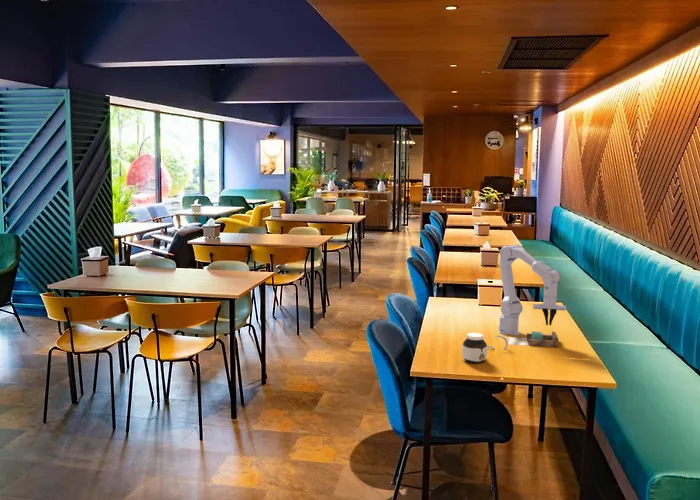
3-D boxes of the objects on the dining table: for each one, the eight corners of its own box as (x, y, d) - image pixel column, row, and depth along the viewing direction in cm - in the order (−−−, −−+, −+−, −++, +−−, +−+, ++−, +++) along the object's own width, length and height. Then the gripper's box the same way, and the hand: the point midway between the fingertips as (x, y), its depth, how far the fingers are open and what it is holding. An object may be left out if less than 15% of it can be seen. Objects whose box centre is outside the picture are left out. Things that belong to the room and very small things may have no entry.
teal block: (532, 343, 291) (532, 334, 291) (531, 340, 296) (532, 331, 295) (542, 343, 291) (542, 334, 290) (541, 341, 295) (541, 332, 294)
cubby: (508, 345, 290) (509, 335, 289) (507, 338, 302) (507, 328, 301) (557, 348, 286) (558, 338, 285) (554, 341, 297) (555, 331, 297)
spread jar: (469, 365, 262) (470, 338, 260) (454, 357, 272) (455, 331, 271) (492, 361, 267) (494, 335, 265) (477, 354, 277) (478, 328, 275)
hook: (508, 353, 277) (463, 356, 283) (508, 347, 286) (465, 350, 292) (506, 338, 277) (461, 340, 282) (507, 332, 286) (463, 335, 291)
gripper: (534, 297, 286) (533, 326, 288) (567, 299, 284) (565, 327, 286) (533, 294, 293) (531, 322, 295) (565, 295, 290) (563, 323, 293)
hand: (548, 324), depth 291 cm, fingers closed
